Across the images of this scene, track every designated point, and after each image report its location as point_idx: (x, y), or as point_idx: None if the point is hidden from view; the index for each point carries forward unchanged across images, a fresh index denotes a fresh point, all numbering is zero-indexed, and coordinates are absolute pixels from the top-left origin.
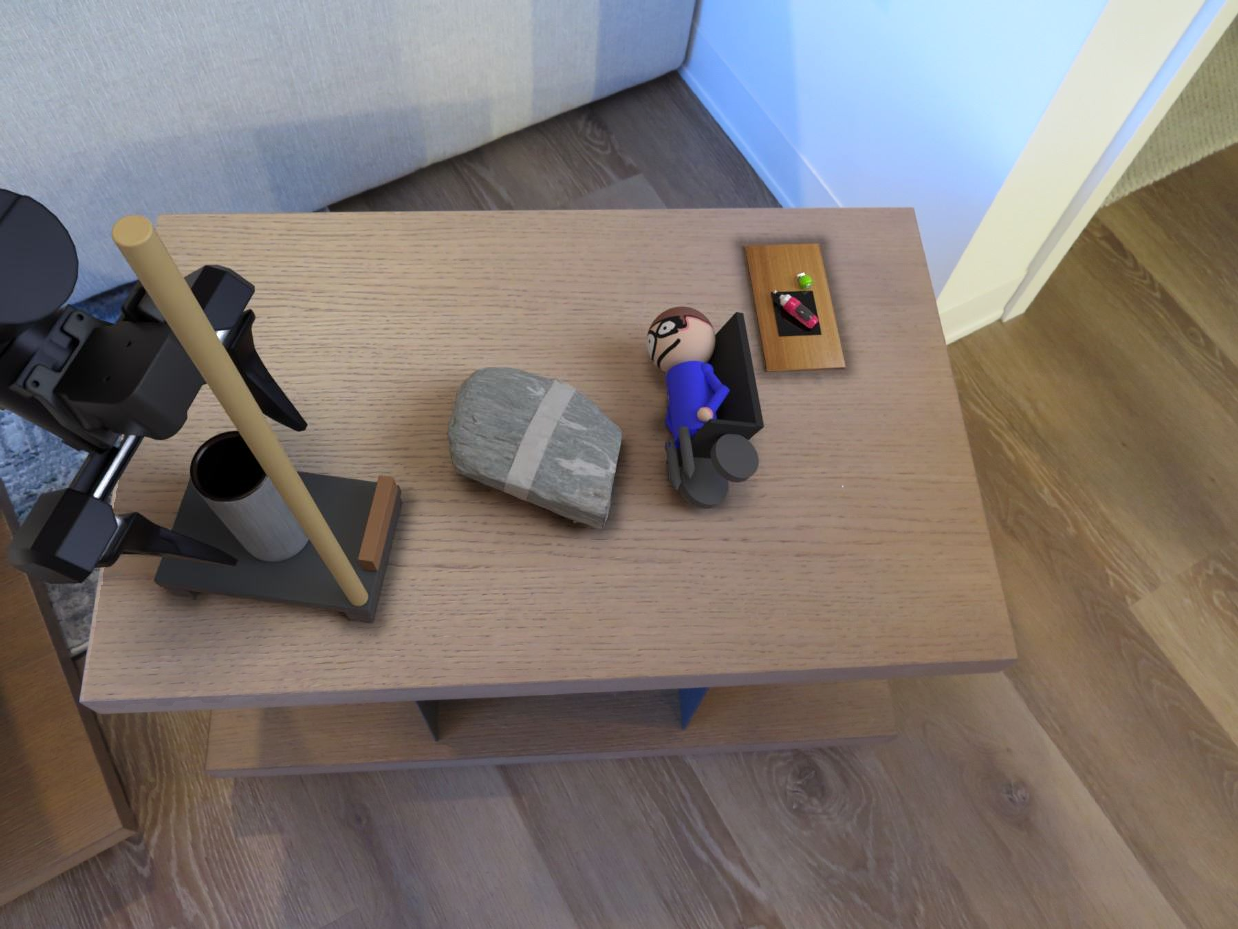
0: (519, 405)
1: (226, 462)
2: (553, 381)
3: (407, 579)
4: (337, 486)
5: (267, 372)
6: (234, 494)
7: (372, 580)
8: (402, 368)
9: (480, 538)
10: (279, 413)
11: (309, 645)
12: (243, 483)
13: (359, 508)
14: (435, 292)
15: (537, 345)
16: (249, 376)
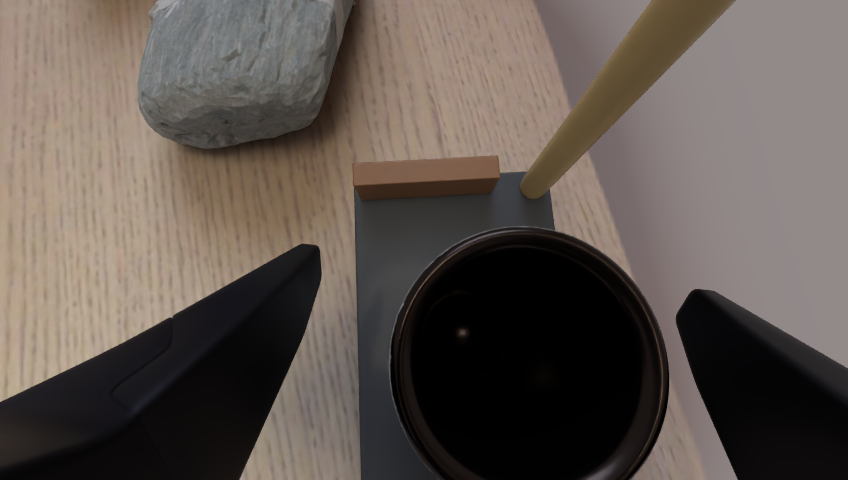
0: (199, 8)
1: (450, 418)
2: (155, 12)
3: None
4: (372, 267)
5: (127, 345)
6: (464, 400)
7: (504, 176)
8: (158, 260)
9: (394, 102)
10: (289, 301)
11: None
12: (440, 388)
13: (401, 225)
14: (19, 248)
15: (106, 94)
16: (144, 399)
